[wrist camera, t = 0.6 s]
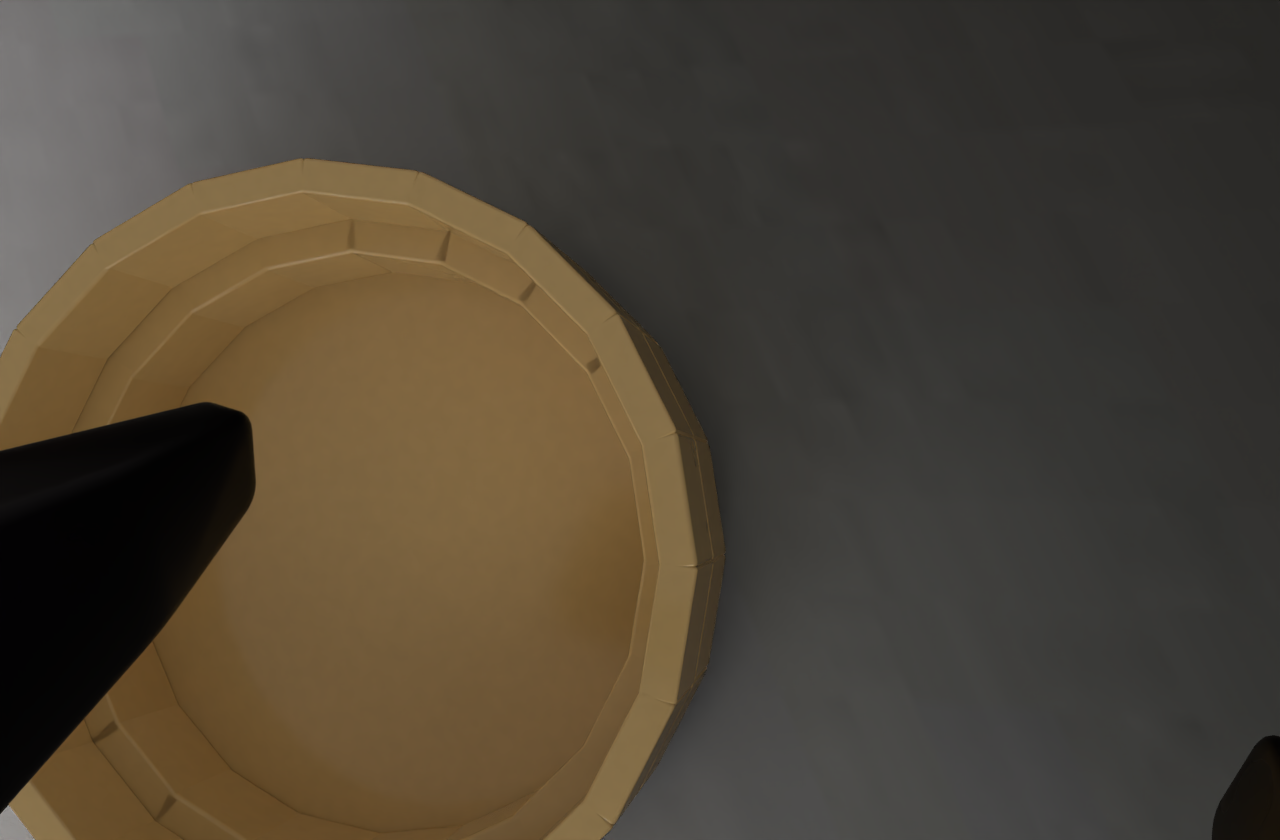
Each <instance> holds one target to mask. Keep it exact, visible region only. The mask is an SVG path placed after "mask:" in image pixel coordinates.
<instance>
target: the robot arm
mask: <svg viewBox="0 0 1280 840" xmlns="http://www.w3.org/2000/svg"><path fill="white" fill-rule="evenodd" d="M255 489H256V473H255V459H254V445H253V430H252V424H251V422H250V420H249V418H248V416H247V415H246V414H244V413H243V412H241V411H239V410H235V409H232V408H229V407H226V406H223V405H220V404H216V403H212V402H200V403H196V404H192V405H188V406H184V407H180V408H175V409H171V410H167V411H163V412H159V413H155V414H151V415H146V416H142V417H138V418H134V419H130V420H126V421H121V422H117V423H113V424H109V425H105V426H101V427H97V428H92V429H88V430H84V431H80V432H76V433H72V434H68V435H63V436H59V437H55V438H51V439H47V440H43V441H39V442H34V443H30V444H26V445H22V446H18V447H14V448H10V449H5V450H1V451H0V814H1V813H2V812H3V810H4V809H5V808H6V807H7V806H8V805H9V804H10V802H11V801H12V800H13V799H14V798H15V797H16V796H17V795H18V793H19V792H20V791H21V790H22V789H23V788H24V787H25V785H26V784H27V783H28V782H29V781H30V780H31V779H32V778H33V776H34V775H35V774H36V773H37V772H38V771H39V770H40V768H41V767H42V766H43V765H44V764H45V763H46V762H47V761H48V759H49V758H50V757H51V756H52V755H53V754H54V753H55V751H56V750H57V749H58V748H59V747H60V746H61V745H62V744H63V742H64V741H65V740H66V739H67V738H68V737H69V736H70V734H71V733H72V732H73V731H74V730H75V729H76V728H77V727H78V725H79V724H80V723H81V722H82V721H83V720H84V719H85V717H86V716H87V715H88V714H89V713H90V712H91V711H92V710H93V708H94V707H95V706H96V705H97V704H98V703H99V702H100V700H101V699H102V698H103V697H104V696H105V695H106V694H107V693H108V691H109V690H110V689H111V688H112V687H113V686H114V685H115V683H116V682H117V681H118V680H119V679H120V678H121V677H122V676H123V674H124V673H125V672H126V671H127V670H128V669H129V668H130V666H131V665H132V664H133V663H134V662H135V661H136V660H137V659H138V657H139V656H140V655H141V654H142V653H143V652H144V651H145V649H146V648H147V647H148V646H149V645H150V643H151V642H152V641H153V640H154V639H155V637H156V636H157V635H158V634H159V633H160V631H161V630H162V629H163V628H164V626H165V625H166V624H167V622H168V621H169V620H170V618H171V617H172V616H173V614H174V613H175V612H176V610H177V609H178V608H179V606H180V605H181V603H182V602H183V601H184V599H185V598H186V596H187V595H188V594H189V592H190V591H191V589H192V588H193V587H194V585H195V584H196V582H197V581H198V580H199V578H200V577H201V575H202V574H203V572H204V571H205V570H206V568H207V567H208V565H209V564H210V563H211V561H212V560H213V558H214V557H215V556H216V554H217V553H218V551H219V550H220V549H221V547H222V546H223V544H224V543H225V542H226V540H227V539H228V537H229V536H230V535H231V533H232V532H233V530H234V529H235V527H236V526H237V525H238V523H239V522H240V520H241V519H242V518H243V516H244V515H245V513H246V512H247V510H248V509H249V507H250V505H251V503H252V501H253V498H254V494H255ZM1212 840H1280V737H1279V736H1275V735H1272V736H1267V737H1264V738H1262V739H1261V740H1260V741H1259V742H1258V743H1257V744H1256V745H1255V746H1254V748H1253V749H1252V751H1251V753H1250V754H1249V756H1248V757H1247V759H1246V761H1245V762H1244V764H1243V765H1242V767H1241V769H1240V770H1239V772H1238V773H1237V775H1236V777H1235V778H1234V780H1233V781H1232V783H1231V785H1230V786H1229V788H1228V789H1227V791H1226V793H1225V794H1224V796H1223V797H1222V799H1221V801H1220V803H1219V805H1218V808H1217V810H1216V813H1215V817H1214V822H1213V828H1212Z"/></svg>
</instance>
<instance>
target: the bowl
mask: <svg viewBox="0 0 1280 840" xmlns="http://www.w3.org/2000/svg"><path fill="white" fill-rule="evenodd" d="M200 402H212V403H216V404H220V405H223V406H226V407H229V408H232V409H235V410H239V411H241V412H243V413H244V414H246V415H247V416H248V418H249V420H250V422H251V424H252V430H253V445H254V459H255V473H256V489H255V494H254V498H253V501H252V503H251V505H250V507H249V509H248V510H247V512H246V513H245V515H244V516H243V518H242V519H241V520H240V522H239V523H238V525H237V526H236V527H235V529H234V530H233V532H232V533H231V535H230V536H229V537H228V539H227V540H226V542H225V543H224V544H223V546H222V547H221V549H220V550H219V551H218V553H217V554H216V556H215V557H214V558H213V560H212V561H211V563H210V564H209V565H208V567H207V568H206V570H205V571H204V572H203V574H202V575H201V577H200V578H199V580H198V581H197V582H196V584H195V585H194V587H193V588H192V589H191V591H190V592H189V594H188V595H187V596H186V598H185V599H184V601H183V602H182V603H181V605H180V606H179V608H178V609H177V610H176V612H175V613H174V614H173V616H172V617H171V618H170V620H169V621H168V622H167V624H166V625H165V626H164V628H163V629H162V630H161V631H160V633H159V634H158V635H157V636H156V637H155V639H154V640H153V641H152V642H151V643H150V645H149V646H148V647H147V648H146V649H145V651H144V652H143V653H142V654H141V655H140V656H139V657H138V659H137V660H136V661H135V662H134V663H133V664H132V665H131V666H130V668H129V669H128V670H127V671H126V672H125V673H124V674H123V676H122V677H121V678H120V679H119V680H118V681H117V682H116V683H115V685H114V686H113V687H112V688H111V689H110V690H109V691H108V693H107V694H106V695H105V696H104V697H103V698H102V699H101V700H100V702H99V703H98V704H97V705H96V706H95V707H94V708H93V710H92V711H91V712H90V713H89V714H88V715H87V716H86V717H85V719H84V720H83V721H82V722H81V723H80V724H79V725H78V727H77V728H76V729H75V730H74V731H73V732H72V733H71V734H70V736H69V737H68V738H67V739H66V740H65V741H64V742H63V744H62V745H61V746H60V747H59V748H58V749H57V750H56V751H55V753H54V754H53V755H52V756H51V757H50V758H49V759H48V761H47V762H46V763H45V764H44V765H43V766H42V767H41V768H40V770H39V771H38V772H37V773H36V774H35V775H34V776H33V778H32V779H31V780H30V781H29V782H28V783H27V784H26V785H25V787H24V788H23V789H22V790H21V791H20V792H19V793H18V795H17V796H16V797H15V798H14V799H13V800H12V801H11V802H10V804H9V806H10V807H11V809H12V810H13V811H14V813H15V814H16V815H17V817H18V818H19V819H20V820H21V822H22V823H23V824H24V826H25V827H26V828H27V830H28V831H29V832H30V834H31V835H32V836H33V838H34V839H35V840H601V839H602V838H603V837H604V836H605V835H606V834H607V833H608V832H609V831H610V830H611V829H612V828H613V826H614V825H615V824H616V822H617V821H618V819H619V818H620V817H621V815H622V814H623V813H624V811H625V810H626V808H627V807H628V806H629V804H630V803H631V802H632V800H633V799H634V797H635V796H636V795H637V794H638V792H639V791H640V789H641V788H642V787H643V785H644V784H645V783H646V781H647V780H648V778H649V777H650V776H651V774H652V773H653V772H654V770H655V769H656V767H657V766H658V764H659V762H660V760H661V759H662V757H663V755H664V753H665V751H666V749H667V747H668V745H669V743H670V741H671V739H672V737H673V735H674V733H675V731H676V729H677V727H678V725H679V723H680V721H681V719H682V718H683V716H684V714H685V712H686V710H687V708H688V706H689V704H690V702H691V700H692V698H693V696H694V694H695V692H696V690H697V688H698V686H699V684H700V682H701V680H702V679H703V677H704V675H705V673H706V671H707V667H706V666H707V665H708V663H709V659H710V653H711V646H712V640H713V634H714V628H715V621H716V615H717V609H718V603H719V596H720V590H721V584H722V577H723V571H724V565H725V555H723V554H725V551H726V549H725V543H724V536H723V530H722V523H721V517H720V510H719V504H718V497H717V491H716V485H715V478H714V472H713V465H712V459H711V452H710V446H709V444H708V443H707V437H706V436H705V434H704V432H703V430H702V428H701V426H700V424H699V422H698V420H697V418H696V416H695V414H694V412H693V410H692V408H691V406H690V404H689V402H688V400H687V398H686V396H685V394H684V392H683V390H682V388H681V386H680V384H679V382H678V380H677V378H676V376H675V374H674V372H673V370H672V368H671V366H670V364H669V362H668V360H667V358H666V356H665V354H664V352H663V350H662V348H661V347H660V346H659V345H658V343H657V341H656V340H655V339H654V338H653V337H652V336H651V335H650V334H649V333H648V332H647V331H646V330H645V329H644V328H643V327H642V326H641V325H640V324H639V323H638V322H637V321H636V320H635V319H634V318H633V317H632V316H631V315H630V314H629V313H628V312H627V311H626V310H625V309H624V308H623V307H622V306H621V305H620V304H619V303H618V302H617V301H616V300H615V299H614V298H613V297H612V296H611V295H610V294H609V293H608V292H607V291H606V290H605V289H604V288H603V287H602V286H601V285H600V284H599V283H598V282H597V281H596V280H595V279H594V278H593V277H592V276H591V275H590V274H589V273H588V272H587V271H585V270H584V269H583V268H582V267H581V266H579V265H578V264H577V263H576V262H575V261H573V260H572V259H571V258H570V257H568V256H567V255H566V254H565V253H564V252H562V251H561V250H560V249H559V248H558V247H556V246H555V245H554V244H553V243H552V242H550V241H549V240H548V239H547V238H545V237H544V236H543V235H542V234H541V233H539V232H538V231H537V230H536V229H535V228H533V227H532V226H530V225H529V224H528V223H526V222H525V221H523V220H521V219H519V218H517V217H515V216H513V215H511V214H509V213H507V212H504V211H502V210H500V209H498V208H496V207H494V206H492V205H490V204H488V203H486V202H484V201H482V200H480V199H478V198H476V197H473V196H471V195H469V194H467V193H465V192H463V191H461V190H459V189H457V188H455V187H453V186H451V185H449V184H447V183H445V182H443V181H440V180H438V179H436V178H434V177H432V176H430V175H428V174H426V173H424V172H418V171H417V170H410V169H401V168H392V167H383V166H374V165H365V164H357V163H348V162H339V161H330V160H321V159H312V158H305V159H303V158H299V159H295V160H290V161H286V162H281V163H277V164H273V165H268V166H264V167H259V168H255V169H250V170H246V171H241V172H237V173H232V174H228V175H223V176H219V177H214V178H210V179H206V180H201V181H197V182H193V183H190V184H188V185H186V186H184V187H182V188H181V189H179V190H177V191H176V192H174V193H172V194H171V195H169V196H167V197H166V198H164V199H162V200H161V201H159V202H157V203H156V204H154V205H152V206H151V207H149V208H147V209H146V210H144V211H142V212H141V213H139V214H137V215H136V216H134V217H132V218H131V219H129V220H127V221H125V222H124V223H122V224H120V225H119V226H117V227H115V228H114V229H112V230H110V231H109V232H107V233H105V234H104V235H102V236H100V237H99V238H97V239H95V240H94V241H93V244H91V245H89V247H88V248H87V249H86V250H85V251H84V252H83V253H82V254H81V255H80V256H79V258H78V259H77V260H76V261H75V262H74V263H73V264H72V265H71V266H70V268H69V269H68V270H67V271H66V272H65V273H64V274H63V275H62V276H61V278H60V279H59V280H58V281H57V282H56V283H55V284H54V285H53V286H52V287H51V289H50V290H49V291H48V292H47V293H46V294H45V295H44V296H43V297H42V299H41V300H40V301H39V302H38V303H37V304H36V305H35V306H34V307H33V309H32V310H31V311H30V312H29V313H28V314H27V315H26V316H25V317H24V318H23V320H22V321H21V322H20V323H19V324H18V325H17V329H14V330H13V332H12V334H11V336H10V338H9V340H8V342H7V344H6V346H5V348H4V350H3V352H2V355H1V357H0V451H1V450H5V449H10V448H14V447H18V446H22V445H26V444H30V443H34V442H39V441H43V440H47V439H51V438H55V437H59V436H63V435H68V434H72V433H76V432H80V431H84V430H88V429H92V428H97V427H101V426H105V425H109V424H113V423H117V422H121V421H126V420H130V419H134V418H138V417H142V416H146V415H151V414H155V413H159V412H163V411H167V410H171V409H175V408H180V407H184V406H188V405H192V404H196V403H200Z"/></svg>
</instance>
